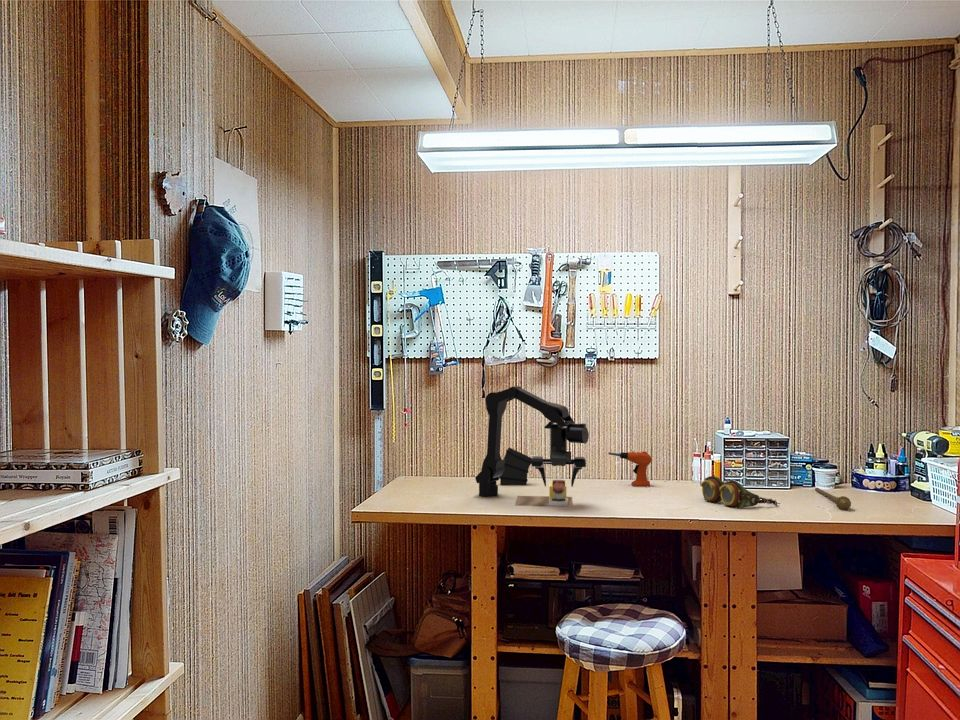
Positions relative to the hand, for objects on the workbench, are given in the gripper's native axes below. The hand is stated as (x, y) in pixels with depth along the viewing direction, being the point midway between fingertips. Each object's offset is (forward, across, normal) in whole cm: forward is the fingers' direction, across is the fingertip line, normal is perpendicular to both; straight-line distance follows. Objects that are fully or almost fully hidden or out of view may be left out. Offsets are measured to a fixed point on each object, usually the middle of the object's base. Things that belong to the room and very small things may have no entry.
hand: (558, 486), depth 246 cm
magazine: (+8, -17, +40) cm, 44 cm away
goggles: (+8, +65, +14) cm, 67 cm away
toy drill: (+8, +29, +42) cm, 52 cm away
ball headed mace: (+8, +98, +20) cm, 101 cm away
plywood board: (+7, -5, +4) cm, 10 cm away
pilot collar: (+6, 0, 0) cm, 6 cm away
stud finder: (+6, 0, +8) cm, 10 cm away
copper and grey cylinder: (+6, 0, 0) cm, 6 cm away
